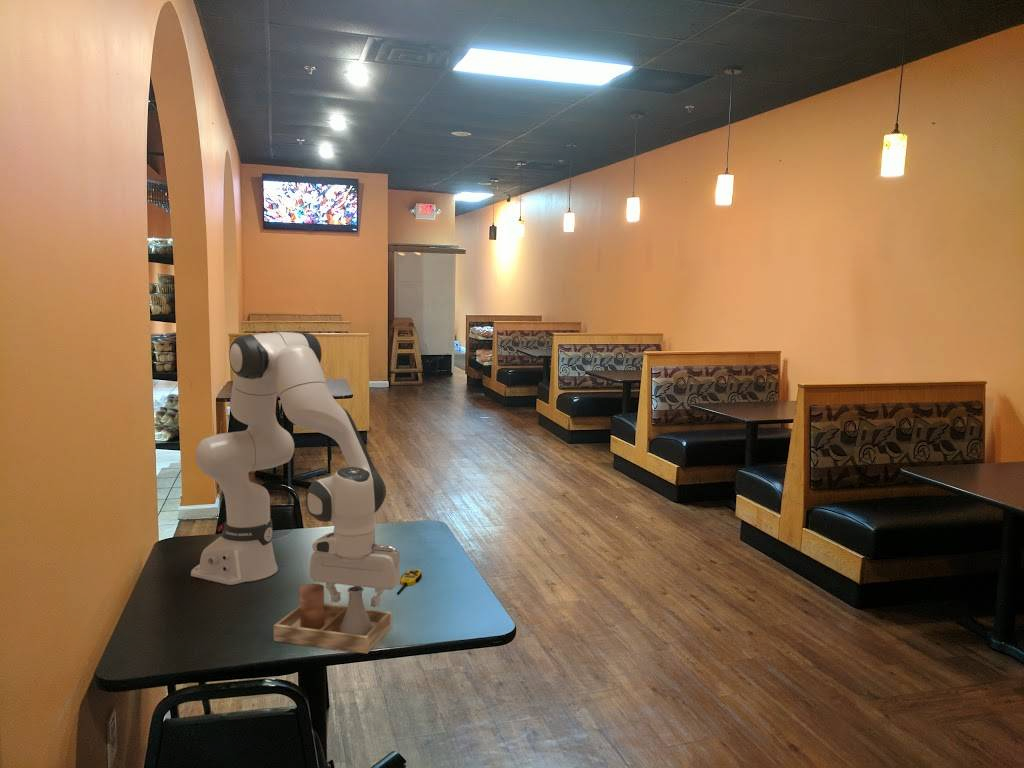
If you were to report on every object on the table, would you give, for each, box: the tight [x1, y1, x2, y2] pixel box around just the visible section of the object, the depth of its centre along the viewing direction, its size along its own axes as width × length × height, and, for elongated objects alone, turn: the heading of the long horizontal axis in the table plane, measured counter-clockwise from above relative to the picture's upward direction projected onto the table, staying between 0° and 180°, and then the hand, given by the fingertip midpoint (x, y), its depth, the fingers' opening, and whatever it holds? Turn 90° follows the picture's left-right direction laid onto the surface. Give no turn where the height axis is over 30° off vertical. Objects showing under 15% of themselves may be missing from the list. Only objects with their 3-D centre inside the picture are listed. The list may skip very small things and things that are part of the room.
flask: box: [339, 586, 373, 636], centre depth 159 cm, size 7×7×10 cm
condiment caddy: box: [272, 583, 393, 655], centre depth 160 cm, size 22×13×10 cm, turn 76°
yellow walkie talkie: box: [396, 568, 422, 595], centre depth 189 cm, size 5×2×15 cm
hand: (355, 603), depth 158 cm, fingers open, 8 cm apart
